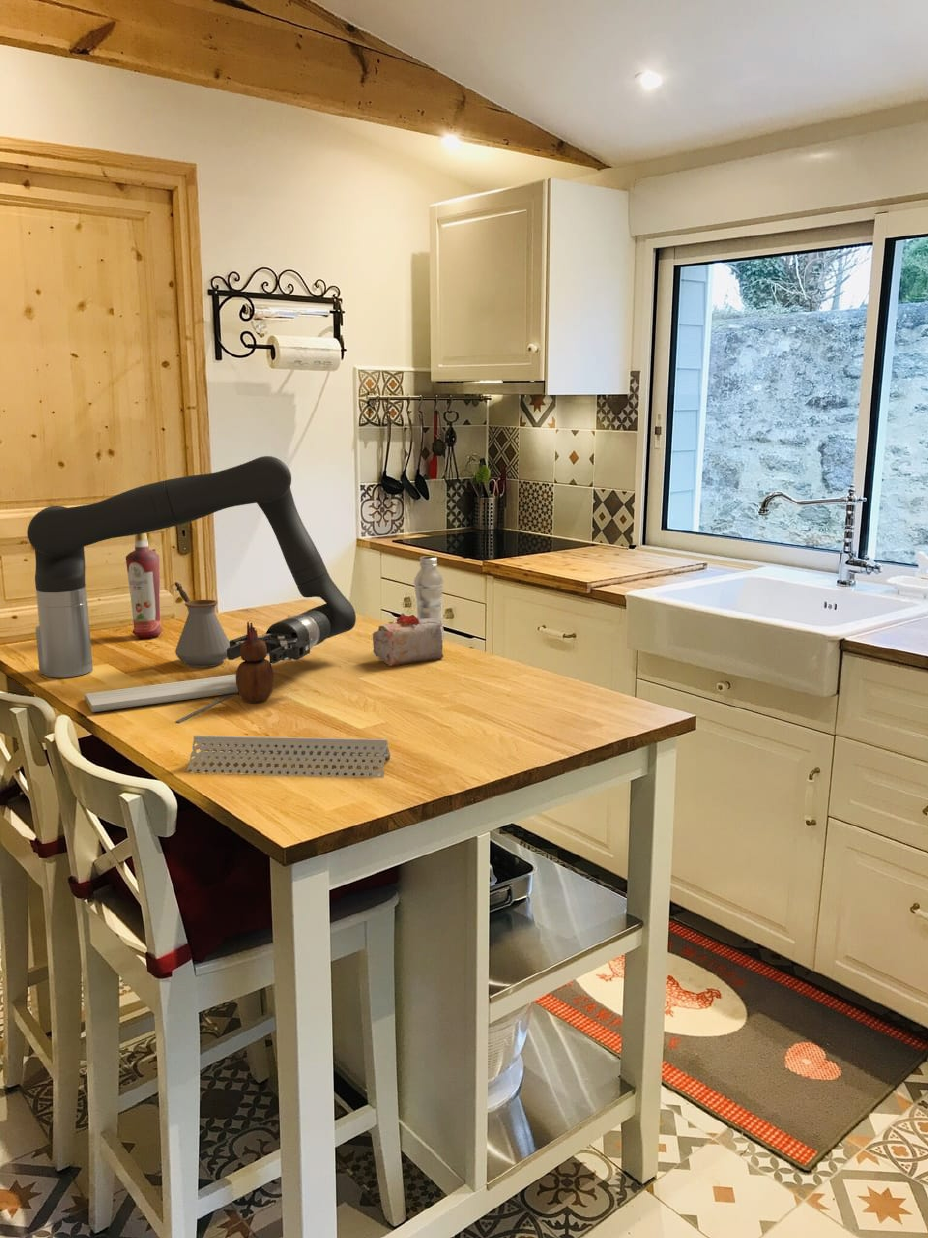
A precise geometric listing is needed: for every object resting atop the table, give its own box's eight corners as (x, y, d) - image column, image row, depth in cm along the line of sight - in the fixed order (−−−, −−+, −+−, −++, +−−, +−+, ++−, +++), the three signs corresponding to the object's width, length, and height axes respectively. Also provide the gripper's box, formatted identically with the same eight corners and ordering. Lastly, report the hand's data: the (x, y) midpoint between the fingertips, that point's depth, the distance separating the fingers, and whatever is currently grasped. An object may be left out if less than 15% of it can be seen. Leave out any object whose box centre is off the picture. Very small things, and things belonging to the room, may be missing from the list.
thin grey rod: (175, 722, 169) (175, 721, 169) (234, 692, 186) (234, 691, 186) (179, 722, 169) (179, 721, 169) (238, 692, 186) (238, 691, 186)
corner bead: (185, 778, 145) (183, 745, 144) (205, 757, 154) (203, 726, 153) (383, 782, 143) (382, 749, 142) (392, 761, 152) (391, 730, 151)
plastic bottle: (450, 645, 222) (449, 556, 218) (432, 652, 216) (431, 560, 212) (426, 642, 225) (425, 554, 221) (408, 648, 220) (407, 558, 216)
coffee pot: (241, 664, 207) (237, 593, 204) (186, 672, 200) (182, 599, 197) (204, 644, 224) (200, 578, 221) (153, 651, 218) (148, 584, 214)
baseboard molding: (83, 698, 184) (92, 714, 173) (82, 682, 183) (91, 698, 172) (250, 676, 197) (267, 690, 187) (249, 662, 197) (266, 675, 186)
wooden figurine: (254, 707, 177) (250, 625, 174) (231, 702, 180) (226, 621, 177) (280, 698, 183) (277, 618, 180) (257, 693, 186) (253, 614, 182)
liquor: (170, 633, 235) (162, 514, 229) (154, 641, 228) (145, 518, 222) (142, 632, 236) (133, 514, 230) (125, 639, 229) (116, 517, 223)
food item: (388, 669, 203) (387, 622, 201) (370, 661, 209) (369, 615, 207) (446, 660, 210) (445, 614, 208) (427, 652, 216) (426, 608, 214)
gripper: (259, 615, 195) (214, 633, 180) (325, 620, 190) (284, 638, 175) (261, 652, 196) (216, 673, 181) (327, 658, 192) (286, 679, 177)
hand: (250, 656), depth 178 cm, fingers open, 8 cm apart
